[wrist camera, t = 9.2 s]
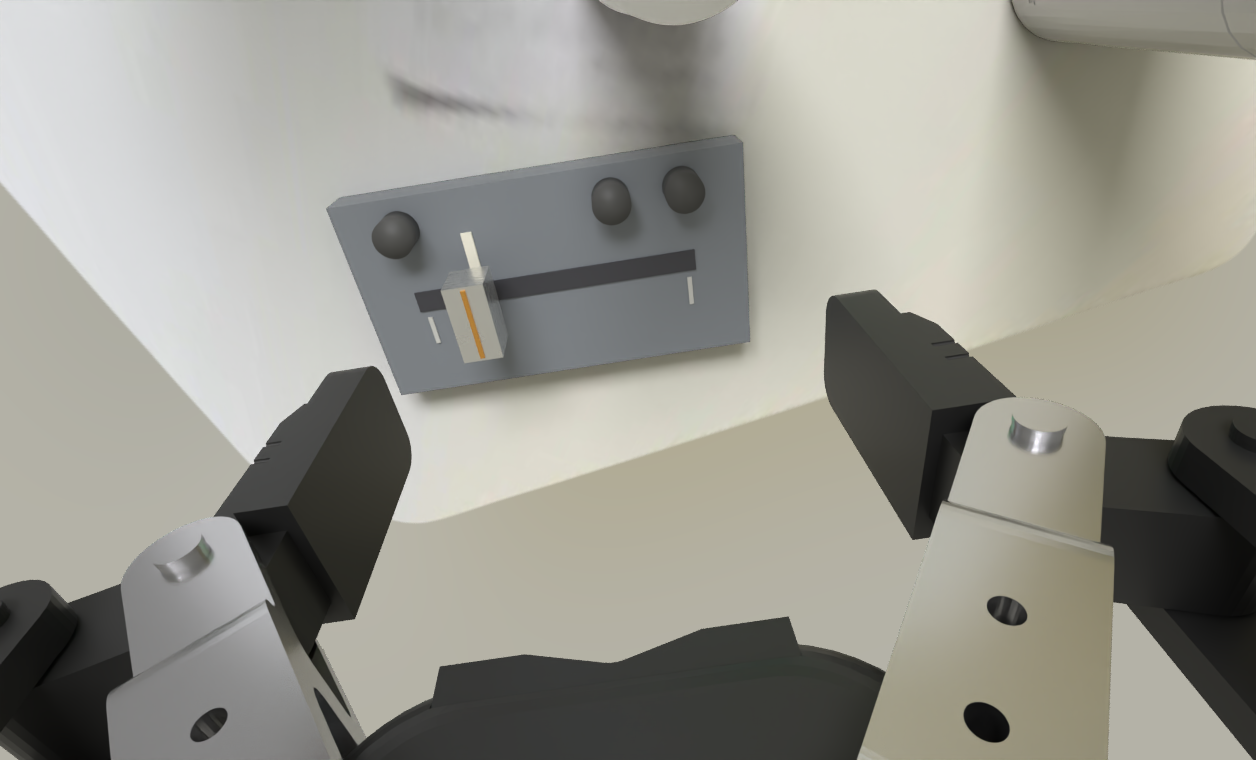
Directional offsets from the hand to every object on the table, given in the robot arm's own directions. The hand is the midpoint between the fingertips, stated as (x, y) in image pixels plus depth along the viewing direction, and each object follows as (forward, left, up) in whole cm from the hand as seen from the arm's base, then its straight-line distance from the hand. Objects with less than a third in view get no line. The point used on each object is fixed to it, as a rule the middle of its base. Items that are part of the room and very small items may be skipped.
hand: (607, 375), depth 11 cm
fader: (+9, +10, -29) cm, 32 cm away
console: (+4, +10, -32) cm, 34 cm away
